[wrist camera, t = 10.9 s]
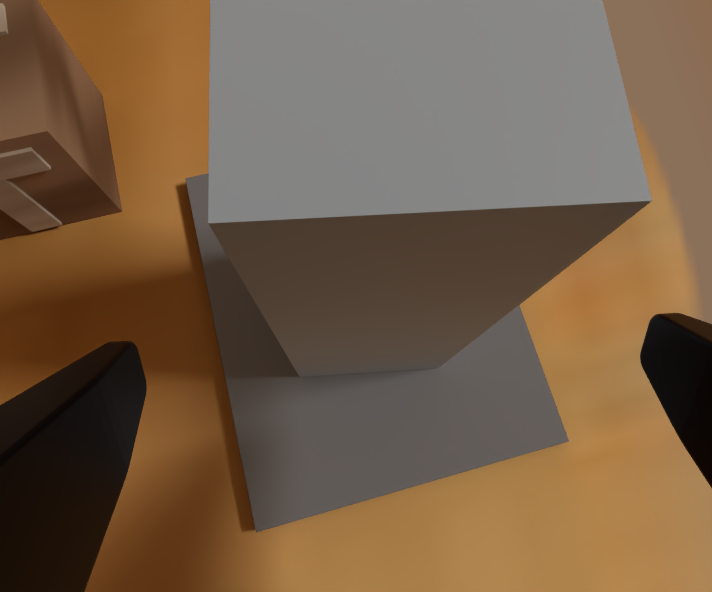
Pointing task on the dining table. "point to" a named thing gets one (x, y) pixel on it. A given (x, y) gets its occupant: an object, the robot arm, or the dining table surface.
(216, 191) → the slate block
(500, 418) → the coaster
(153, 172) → the dining table surface
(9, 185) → the walnut cube
